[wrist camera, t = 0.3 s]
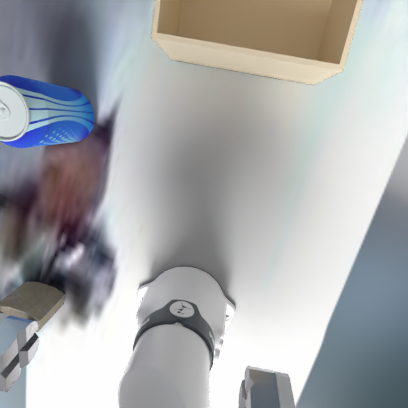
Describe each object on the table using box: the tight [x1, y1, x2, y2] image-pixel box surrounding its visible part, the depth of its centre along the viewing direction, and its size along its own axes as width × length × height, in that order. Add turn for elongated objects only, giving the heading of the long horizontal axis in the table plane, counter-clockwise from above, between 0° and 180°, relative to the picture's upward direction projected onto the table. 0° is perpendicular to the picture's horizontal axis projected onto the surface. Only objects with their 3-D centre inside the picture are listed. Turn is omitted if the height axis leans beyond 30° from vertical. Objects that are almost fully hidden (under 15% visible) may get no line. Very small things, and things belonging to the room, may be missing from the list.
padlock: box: [0, 282, 65, 332], centre depth 51 cm, size 4×8×15 cm, turn 72°
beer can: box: [0, 75, 95, 148], centre depth 41 cm, size 8×8×16 cm
